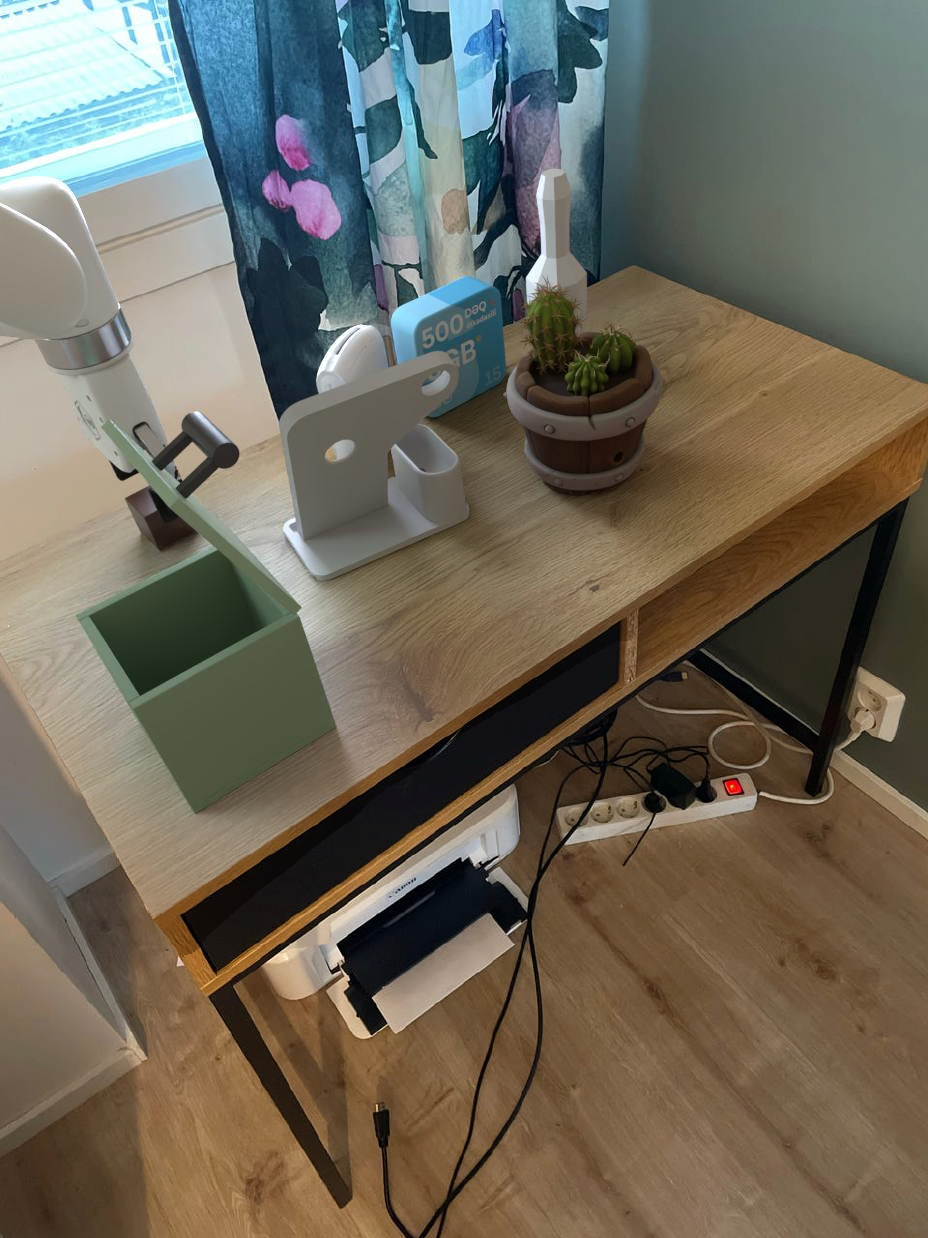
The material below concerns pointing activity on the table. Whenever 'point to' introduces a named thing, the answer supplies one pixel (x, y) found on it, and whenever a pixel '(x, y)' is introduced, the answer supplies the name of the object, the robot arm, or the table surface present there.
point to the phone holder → (371, 467)
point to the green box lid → (180, 494)
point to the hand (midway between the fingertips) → (155, 493)
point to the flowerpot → (581, 398)
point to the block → (156, 521)
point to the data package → (455, 335)
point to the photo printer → (351, 365)
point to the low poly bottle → (557, 245)
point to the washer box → (211, 673)
